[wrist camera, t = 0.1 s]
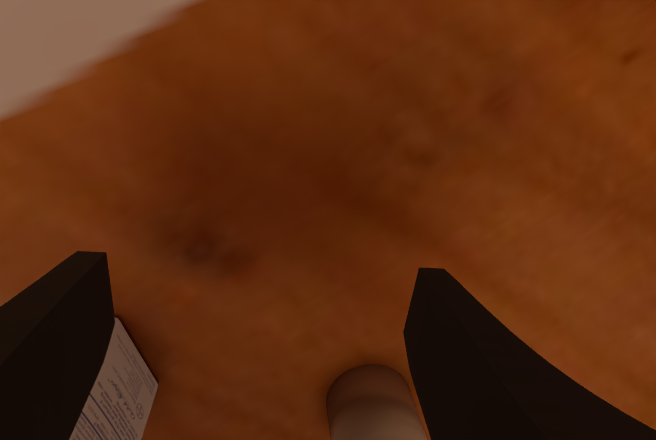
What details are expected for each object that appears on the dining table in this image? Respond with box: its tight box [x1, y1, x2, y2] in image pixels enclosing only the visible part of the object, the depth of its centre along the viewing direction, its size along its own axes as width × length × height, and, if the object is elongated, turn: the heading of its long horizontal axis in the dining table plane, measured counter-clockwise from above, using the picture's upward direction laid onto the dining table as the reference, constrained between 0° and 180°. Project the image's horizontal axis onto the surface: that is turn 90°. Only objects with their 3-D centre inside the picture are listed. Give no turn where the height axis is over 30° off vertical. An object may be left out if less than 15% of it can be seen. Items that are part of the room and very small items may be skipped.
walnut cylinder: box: [326, 364, 427, 440], centre depth 24 cm, size 4×4×5 cm
